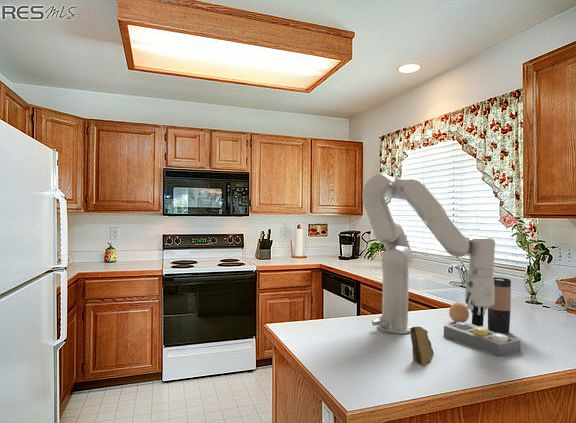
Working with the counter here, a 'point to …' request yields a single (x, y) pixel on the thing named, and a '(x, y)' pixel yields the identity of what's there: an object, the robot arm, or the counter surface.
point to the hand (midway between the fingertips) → (477, 325)
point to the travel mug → (500, 307)
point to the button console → (482, 340)
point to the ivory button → (500, 337)
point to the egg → (459, 312)
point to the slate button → (462, 325)
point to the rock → (421, 346)
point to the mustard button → (480, 331)
